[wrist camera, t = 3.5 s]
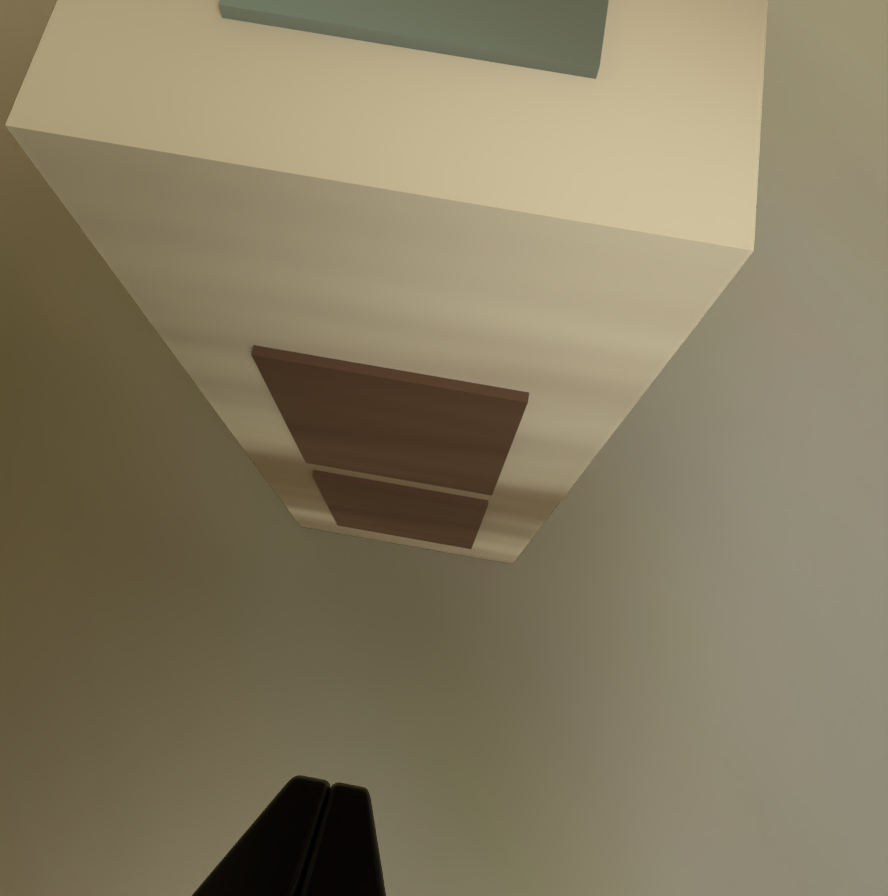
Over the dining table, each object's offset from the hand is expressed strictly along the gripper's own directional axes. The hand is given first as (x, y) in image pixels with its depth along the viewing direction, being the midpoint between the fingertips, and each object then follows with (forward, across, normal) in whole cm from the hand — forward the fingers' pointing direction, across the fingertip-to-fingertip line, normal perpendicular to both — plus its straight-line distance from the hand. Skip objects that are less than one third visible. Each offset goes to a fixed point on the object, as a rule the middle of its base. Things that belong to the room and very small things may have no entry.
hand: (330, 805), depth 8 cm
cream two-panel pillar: (+9, 0, 0) cm, 9 cm away
